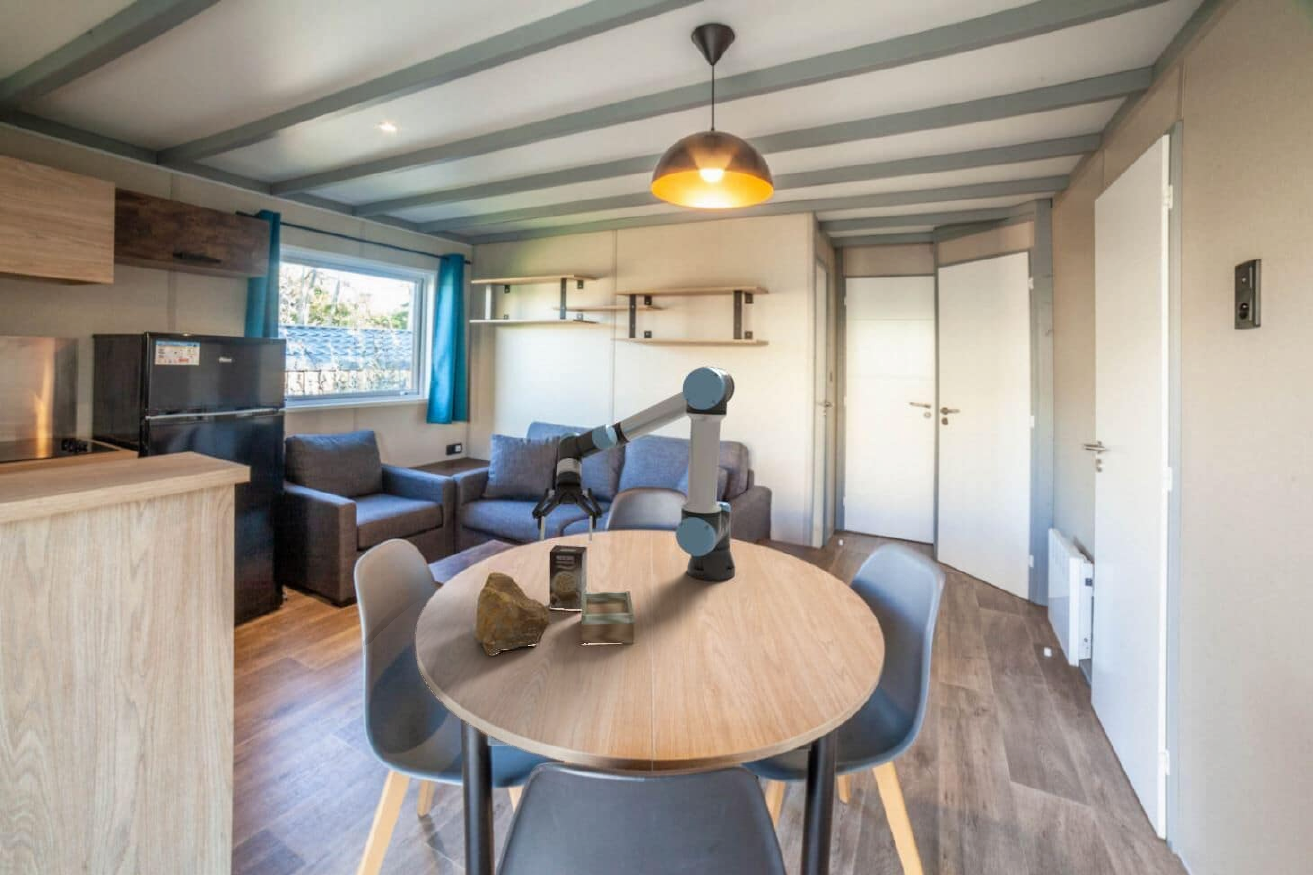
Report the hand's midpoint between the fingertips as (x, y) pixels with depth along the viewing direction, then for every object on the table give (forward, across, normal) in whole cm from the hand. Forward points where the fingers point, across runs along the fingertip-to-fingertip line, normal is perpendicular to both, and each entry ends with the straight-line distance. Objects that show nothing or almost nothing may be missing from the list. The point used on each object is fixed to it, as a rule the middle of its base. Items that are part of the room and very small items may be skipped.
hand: (566, 538), depth 162 cm
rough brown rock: (+32, +11, +9) cm, 36 cm away
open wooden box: (+29, -11, +7) cm, 32 cm away
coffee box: (+18, -1, -5) cm, 19 cm away
